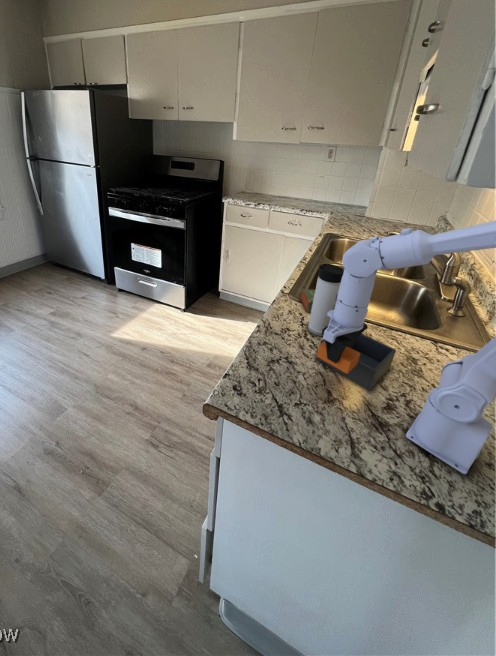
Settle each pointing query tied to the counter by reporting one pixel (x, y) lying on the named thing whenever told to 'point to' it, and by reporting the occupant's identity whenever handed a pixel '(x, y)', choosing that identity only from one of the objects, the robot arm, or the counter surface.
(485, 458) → the counter surface
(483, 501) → the counter surface
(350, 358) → the block
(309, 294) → the carton
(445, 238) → the robot arm
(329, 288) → the travel mug
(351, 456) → the counter surface
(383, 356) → the bin
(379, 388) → the counter surface
